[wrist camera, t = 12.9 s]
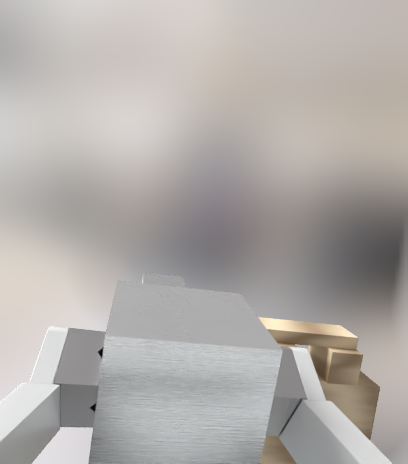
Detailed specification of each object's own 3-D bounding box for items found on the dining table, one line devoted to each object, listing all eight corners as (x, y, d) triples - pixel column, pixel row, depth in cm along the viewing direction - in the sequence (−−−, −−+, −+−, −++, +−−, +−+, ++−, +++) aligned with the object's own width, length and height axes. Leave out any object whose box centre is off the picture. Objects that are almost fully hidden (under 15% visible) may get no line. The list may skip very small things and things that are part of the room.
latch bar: (83, 501, 9) (105, 335, 8) (116, 315, 19) (127, 238, 19) (252, 502, 9) (282, 350, 9) (194, 323, 20) (206, 249, 20)
